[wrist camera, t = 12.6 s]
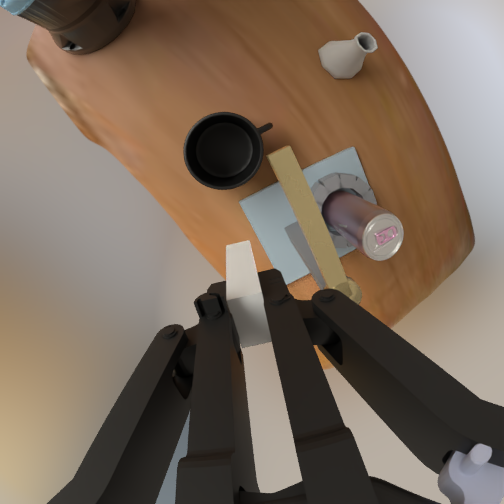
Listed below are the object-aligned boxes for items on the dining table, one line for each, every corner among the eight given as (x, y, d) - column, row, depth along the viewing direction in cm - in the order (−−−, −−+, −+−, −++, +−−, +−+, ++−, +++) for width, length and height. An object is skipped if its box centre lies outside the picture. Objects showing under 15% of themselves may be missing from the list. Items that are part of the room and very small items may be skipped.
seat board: (238, 201, 43) (248, 248, 24) (351, 146, 41) (434, 155, 22) (282, 283, 48) (314, 366, 29) (381, 231, 47) (455, 283, 28)
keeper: (328, 315, 27) (332, 322, 25) (255, 160, 21) (256, 161, 20) (360, 298, 26) (365, 304, 25) (296, 140, 20) (300, 140, 19)
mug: (282, 154, 41) (296, 156, 32) (212, 192, 42) (208, 204, 33) (252, 100, 37) (258, 88, 29) (180, 139, 39) (168, 138, 30)
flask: (309, 47, 34) (331, 25, 25) (345, 36, 34) (372, 15, 24) (332, 85, 37) (359, 72, 28) (367, 72, 36) (398, 59, 27)
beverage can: (359, 216, 44) (409, 248, 30) (328, 232, 45) (369, 271, 31) (347, 183, 42) (398, 203, 28) (315, 199, 43) (354, 226, 29)
